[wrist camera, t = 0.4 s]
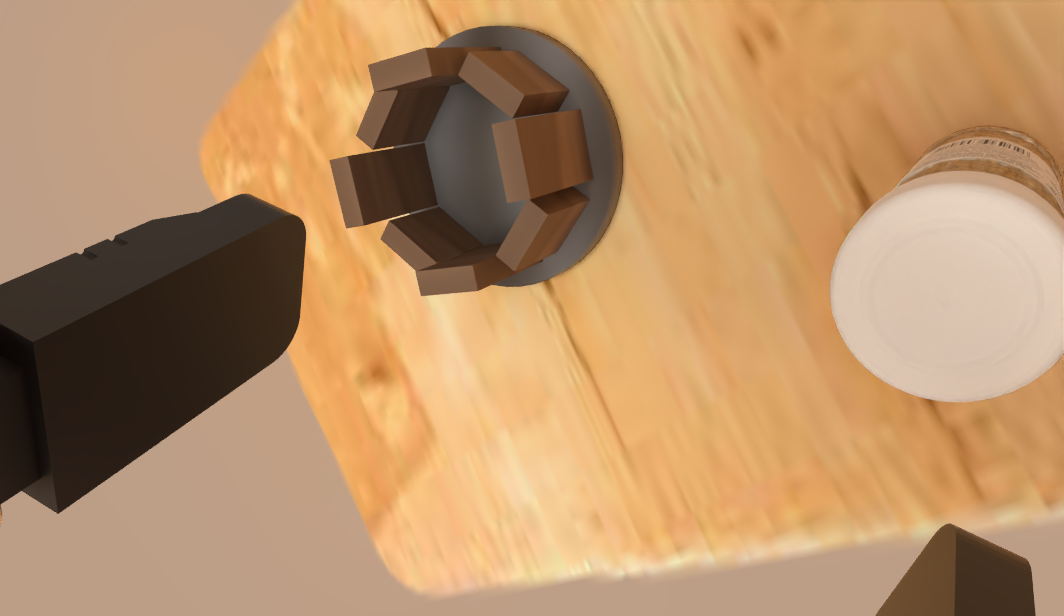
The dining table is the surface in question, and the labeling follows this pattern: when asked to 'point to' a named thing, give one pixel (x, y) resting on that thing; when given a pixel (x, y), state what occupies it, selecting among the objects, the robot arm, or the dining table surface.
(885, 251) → the sprinkles bottle
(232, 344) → the robot arm
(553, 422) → the dining table surface
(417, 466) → the dining table surface
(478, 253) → the castellated collar
